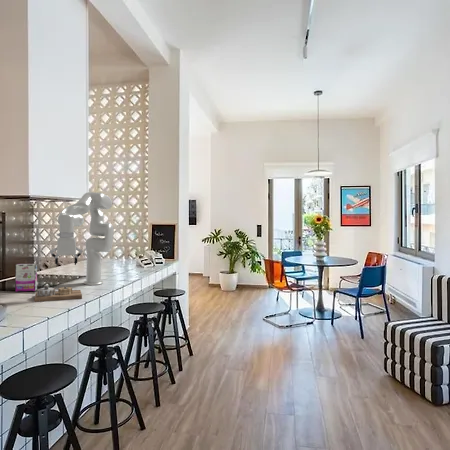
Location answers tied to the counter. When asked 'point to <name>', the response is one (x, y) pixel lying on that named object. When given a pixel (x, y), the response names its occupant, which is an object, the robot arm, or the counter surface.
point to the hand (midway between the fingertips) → (66, 264)
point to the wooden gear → (64, 291)
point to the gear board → (55, 294)
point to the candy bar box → (26, 277)
